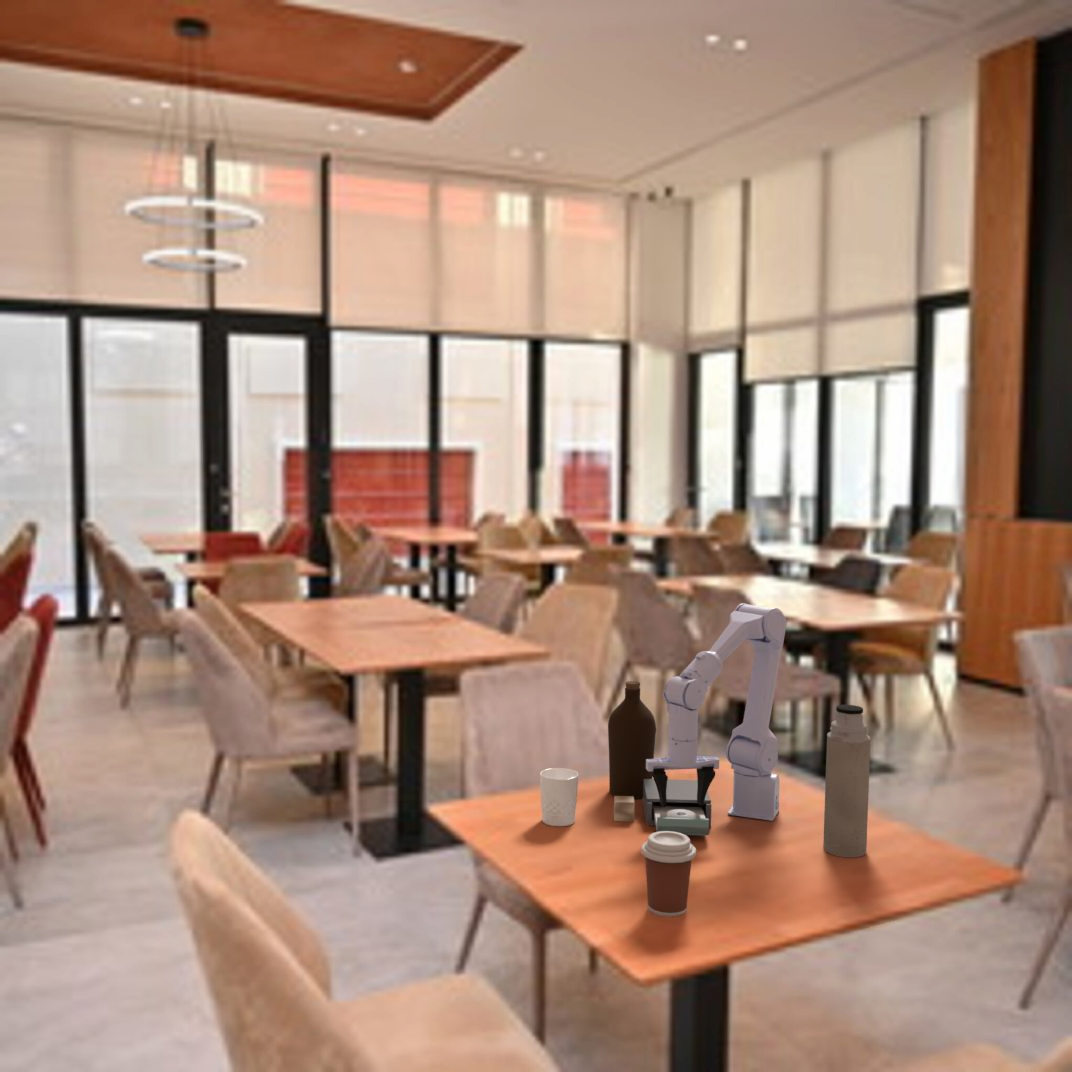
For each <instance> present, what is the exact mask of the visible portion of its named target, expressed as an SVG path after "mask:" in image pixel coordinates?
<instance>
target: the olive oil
mask: <svg viewBox="0 0 1072 1072" xmlns="http://www.w3.org/2000/svg"><path fill="white" fill-rule="evenodd" d="M640 687H641V683H640V682H639V681H637V680H636V681H635V680H628V681H626V682H625V688H624V699H623V700H622V701H621V702H620V704H619V705H617V707H616V708H614V710H612V712H611V714H610V716H609V719H608V722H607V735H608V736H607V737H608V738H607V739H608V764H609V765H608V766H609V767H608V768H609V769H608V770H609V771H608V772H609V775H608V776H609V780H608V781H609V793H610V794H611V795H612V796H634V800H639V799H643V779H653V776H652V774H651V772H650V771H648V770H647V769H646V759H655V745H656V733H657V723H656V720H655V719H656V718H655V716H654V714H653V713H652V712H651V710H650V709H649V708H648V707H647V705H646V704H644V702H643V701H642V700H641V688H640Z"/></svg>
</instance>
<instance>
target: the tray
mask: <svg viewBox="0 0 1072 1072" xmlns="http://www.w3.org/2000/svg"><path fill="white" fill-rule="evenodd" d="M674 809H684V810H689V811H692V812H694V813H695V818H672V817H667V812H668V811H670V810H674ZM653 815H654V820H655V825H654V826H655V830H656V832H659V831H672V832H678V833H682V834H684V835H686V836H709V835H710V834H709V830H710V829H709V828H710V827H709V819H707V818H705V815H704V812H703V809H702V807H675V806H666V807H662V806H653Z"/></svg>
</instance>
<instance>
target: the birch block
mask: <svg viewBox="0 0 1072 1072" xmlns="http://www.w3.org/2000/svg"><path fill="white" fill-rule="evenodd" d="M613 796H614V795H613ZM613 798H614V799H613V819H614V822H632V823H633V822H635V799H634V796H614V797H613Z"/></svg>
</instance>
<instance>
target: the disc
mask: <svg viewBox="0 0 1072 1072" xmlns="http://www.w3.org/2000/svg"><path fill="white" fill-rule="evenodd" d="M667 817H672V818H695V813H694V812H692V811H689V810H684V809H674V810H670V811H668V812H667Z"/></svg>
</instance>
